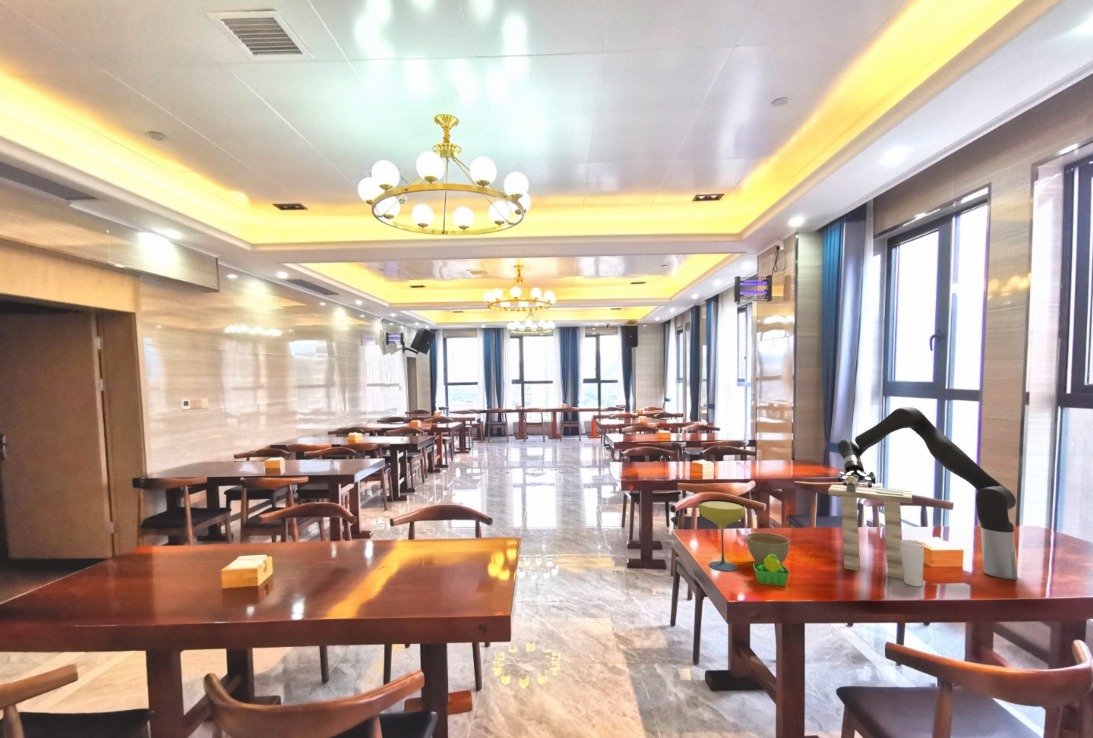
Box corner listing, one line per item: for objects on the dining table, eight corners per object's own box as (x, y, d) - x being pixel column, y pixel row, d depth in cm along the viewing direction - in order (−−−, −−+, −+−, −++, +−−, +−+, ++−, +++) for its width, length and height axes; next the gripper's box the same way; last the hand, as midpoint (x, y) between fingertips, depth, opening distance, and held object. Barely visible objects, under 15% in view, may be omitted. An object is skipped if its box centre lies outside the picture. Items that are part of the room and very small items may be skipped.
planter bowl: (780, 558, 197) (779, 532, 197) (797, 573, 181) (796, 544, 181) (741, 557, 198) (740, 531, 199) (754, 571, 182) (753, 543, 183)
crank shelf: (835, 562, 192) (831, 483, 194) (915, 576, 176) (910, 490, 178) (831, 572, 180) (828, 488, 182) (917, 589, 165) (912, 496, 167)
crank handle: (850, 482, 197) (850, 469, 198) (858, 483, 195) (858, 469, 196) (846, 491, 180) (846, 476, 180) (855, 492, 178) (854, 477, 178)
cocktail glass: (700, 572, 182) (698, 507, 184) (699, 557, 199) (697, 498, 201) (749, 577, 177) (747, 510, 178) (744, 561, 194) (742, 500, 195)
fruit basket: (785, 579, 174) (784, 549, 175) (791, 589, 166) (790, 557, 166) (752, 576, 177) (751, 546, 178) (756, 585, 169) (755, 554, 169)
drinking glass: (902, 579, 174) (900, 538, 175) (925, 583, 169) (923, 542, 170) (901, 585, 169) (899, 543, 169) (925, 589, 164) (923, 546, 165)
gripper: (835, 459, 220) (838, 477, 206) (871, 460, 213) (877, 479, 199) (836, 472, 222) (839, 492, 208) (872, 474, 215) (877, 494, 201)
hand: (857, 486), depth 204 cm, fingers open, 8 cm apart
